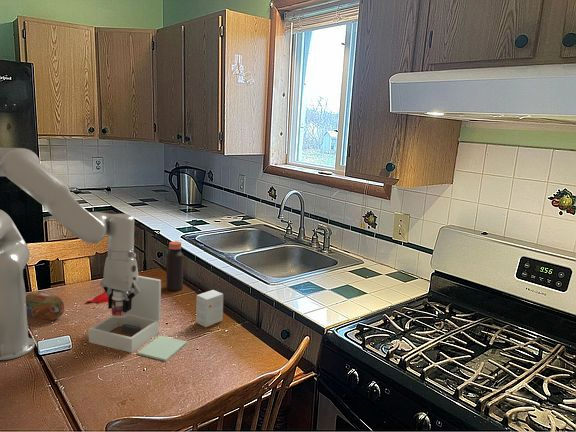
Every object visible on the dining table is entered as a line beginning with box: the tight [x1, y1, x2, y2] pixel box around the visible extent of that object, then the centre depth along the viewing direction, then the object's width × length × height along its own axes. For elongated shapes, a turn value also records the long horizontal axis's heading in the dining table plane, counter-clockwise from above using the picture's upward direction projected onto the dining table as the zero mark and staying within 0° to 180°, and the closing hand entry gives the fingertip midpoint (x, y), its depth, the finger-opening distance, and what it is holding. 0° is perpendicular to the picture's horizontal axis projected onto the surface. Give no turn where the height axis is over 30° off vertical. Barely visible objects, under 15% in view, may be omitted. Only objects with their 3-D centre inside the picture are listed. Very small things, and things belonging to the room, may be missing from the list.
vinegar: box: [165, 241, 184, 292], centre depth 184 cm, size 7×7×20 cm
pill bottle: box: [111, 289, 128, 318], centre depth 139 cm, size 5×5×8 cm
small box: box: [195, 289, 224, 328], centre depth 157 cm, size 8×6×10 cm
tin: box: [26, 292, 65, 321], centre depth 152 cm, size 15×3×8 cm, turn 76°
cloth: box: [84, 291, 108, 305], centre depth 176 cm, size 26×14×2 cm, turn 128°
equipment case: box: [88, 275, 162, 354], centre depth 141 cm, size 15×16×18 cm
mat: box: [137, 335, 188, 362], centre depth 137 cm, size 12×10×1 cm
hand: (119, 308), depth 139 cm, fingers closed on pill bottle, 4 cm apart
